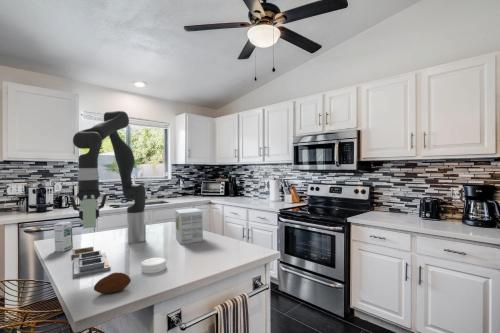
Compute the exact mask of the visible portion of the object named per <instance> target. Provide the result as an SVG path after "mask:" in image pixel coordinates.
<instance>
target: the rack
mask: <svg viewBox="0 0 500 333" xmlns="http://www.w3.org/2000/svg"><path fill="white" fill-rule="evenodd" d="M78 254H79V253H78ZM110 264H111V263H110V261H109V259H108V257H107V254H106V252H103V253H102V251H101V250H93V252H91V251H89V252H87V253H85V252H83V253H81V254H79V258H74V259H73V278H74V277H76V278H79V277H86V276H90V275H93V274H94V275H95V274H100V273H103V272H109V271H112V270H111V269H112V268H111V267H112V266H111V265H110Z"/></svg>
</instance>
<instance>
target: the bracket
mask: <svg viewBox="0 0 500 333" xmlns="http://www.w3.org/2000/svg"><path fill="white" fill-rule="evenodd" d="M93 251H94V246H88V247H82V248H76V249H72V260H74V258H79V254H81V253H87V252H93Z"/></svg>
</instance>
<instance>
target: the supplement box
mask: <svg viewBox="0 0 500 333" xmlns="http://www.w3.org/2000/svg"><path fill="white" fill-rule="evenodd" d="M174 211H175V212H174V213H175V214H174V216H175V239H176V241H177V242H178V243H179V244H180V245H185V244H186V245H187V244H193V243H200V242H203V241H204V233H203V232H204V229H203V228H204V226H203V225H204V224H203V221H204V220H203V210H201V209H199V208H197V207H194V208H193V207H192V208H180V209H175V210H174Z"/></svg>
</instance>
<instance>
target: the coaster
mask: <svg viewBox="0 0 500 333" xmlns="http://www.w3.org/2000/svg"><path fill="white" fill-rule="evenodd" d="M166 268H167V260H166V258H165V257H151V258H147V259H145V260H142V262H141V263H140V271H141V272H142V273H144V274H156V273H159V272H162V271H164V270H165V269H166Z"/></svg>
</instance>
